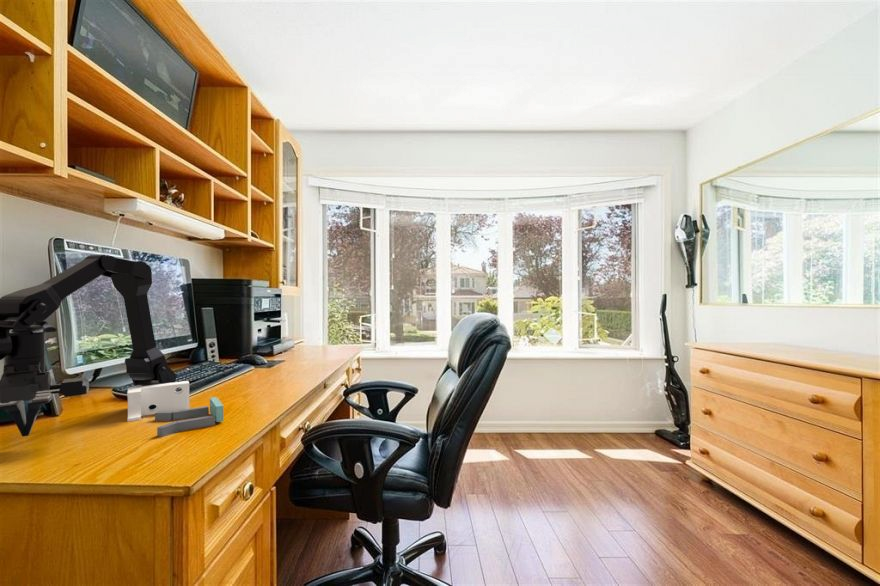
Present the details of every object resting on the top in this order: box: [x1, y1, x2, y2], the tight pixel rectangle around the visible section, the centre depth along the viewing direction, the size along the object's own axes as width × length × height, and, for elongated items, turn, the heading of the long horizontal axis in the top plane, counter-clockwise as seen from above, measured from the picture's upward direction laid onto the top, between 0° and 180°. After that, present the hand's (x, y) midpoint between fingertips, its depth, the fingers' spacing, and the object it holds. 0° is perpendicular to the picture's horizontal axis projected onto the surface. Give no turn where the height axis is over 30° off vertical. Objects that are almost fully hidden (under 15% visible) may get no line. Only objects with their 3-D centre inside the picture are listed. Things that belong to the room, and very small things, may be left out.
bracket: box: [126, 380, 190, 422], centre depth 104 cm, size 13×7×8 cm
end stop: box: [209, 396, 224, 423], centre depth 100 cm, size 10×2×4 cm, turn 37°
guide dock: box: [154, 405, 216, 438], centre depth 96 cm, size 16×11×2 cm
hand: (26, 435), depth 80 cm, fingers closed
